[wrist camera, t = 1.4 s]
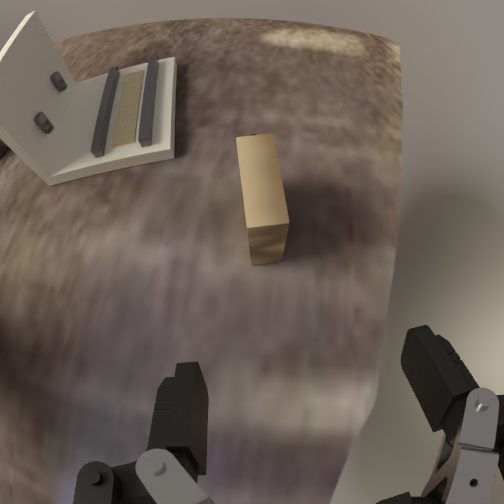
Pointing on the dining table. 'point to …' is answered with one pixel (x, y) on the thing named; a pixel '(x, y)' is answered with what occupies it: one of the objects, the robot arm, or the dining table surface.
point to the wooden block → (263, 198)
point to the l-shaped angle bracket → (82, 110)
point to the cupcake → (2, 148)
